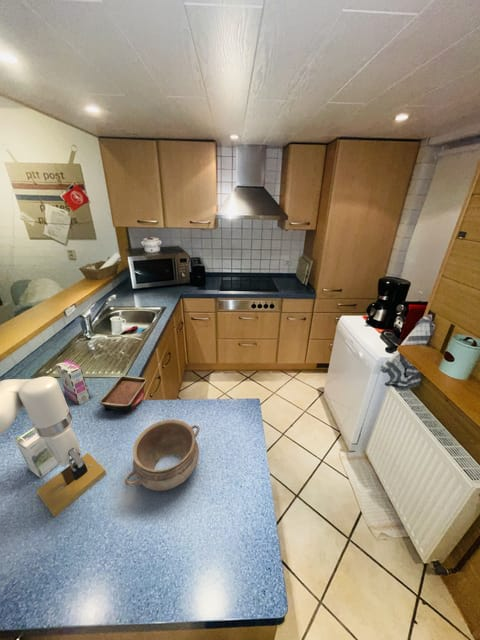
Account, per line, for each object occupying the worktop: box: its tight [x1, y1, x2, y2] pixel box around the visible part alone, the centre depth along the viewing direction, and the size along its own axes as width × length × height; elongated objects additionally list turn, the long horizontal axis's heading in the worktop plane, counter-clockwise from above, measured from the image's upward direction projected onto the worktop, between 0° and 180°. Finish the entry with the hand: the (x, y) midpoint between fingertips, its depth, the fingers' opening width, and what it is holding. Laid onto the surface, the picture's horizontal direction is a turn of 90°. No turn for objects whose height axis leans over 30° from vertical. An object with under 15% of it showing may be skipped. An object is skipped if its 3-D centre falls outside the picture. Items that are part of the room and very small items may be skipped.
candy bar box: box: [55, 359, 91, 405], centre depth 103 cm, size 11×5×16 cm, turn 56°
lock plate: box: [36, 452, 107, 518], centre depth 73 cm, size 14×10×3 cm
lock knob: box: [60, 461, 76, 485], centre depth 72 cm, size 5×2×5 cm, turn 146°
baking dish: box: [99, 375, 147, 414], centre depth 102 cm, size 14×18×10 cm
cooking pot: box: [124, 419, 201, 492], centre depth 75 cm, size 25×19×12 cm
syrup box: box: [14, 427, 59, 478], centre depth 75 cm, size 6×6×14 cm
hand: (72, 465), depth 71 cm, fingers open, 9 cm apart
